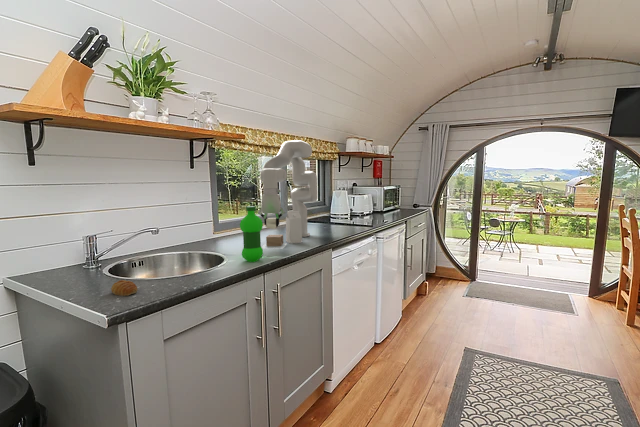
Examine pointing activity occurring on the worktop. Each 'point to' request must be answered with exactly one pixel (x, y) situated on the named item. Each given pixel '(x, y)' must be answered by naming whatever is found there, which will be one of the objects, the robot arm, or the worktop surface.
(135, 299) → the worktop surface
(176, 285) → the worktop surface
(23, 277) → the worktop surface
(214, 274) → the worktop surface
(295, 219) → the milk carton
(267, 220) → the cream cube
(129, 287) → the pastry
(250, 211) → the plastic bottle
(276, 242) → the walnut base block
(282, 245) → the blueprint board
